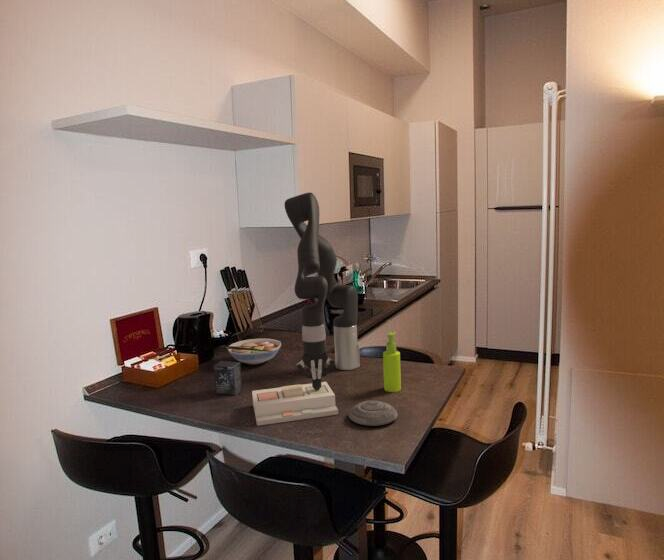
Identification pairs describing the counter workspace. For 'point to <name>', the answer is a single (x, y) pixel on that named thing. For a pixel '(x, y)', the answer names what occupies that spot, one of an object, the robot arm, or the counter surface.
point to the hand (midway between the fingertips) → (316, 389)
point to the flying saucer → (372, 413)
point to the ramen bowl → (253, 350)
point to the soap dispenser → (391, 366)
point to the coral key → (267, 396)
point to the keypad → (293, 406)
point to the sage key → (313, 391)
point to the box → (227, 378)
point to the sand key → (292, 391)
